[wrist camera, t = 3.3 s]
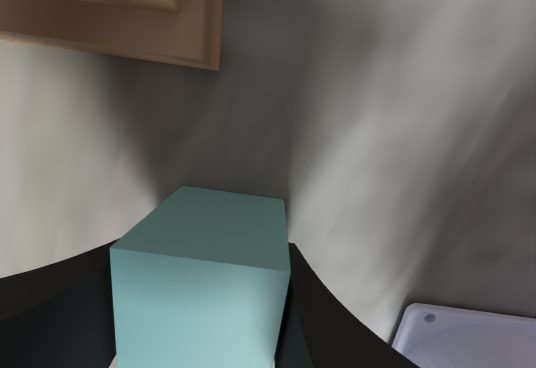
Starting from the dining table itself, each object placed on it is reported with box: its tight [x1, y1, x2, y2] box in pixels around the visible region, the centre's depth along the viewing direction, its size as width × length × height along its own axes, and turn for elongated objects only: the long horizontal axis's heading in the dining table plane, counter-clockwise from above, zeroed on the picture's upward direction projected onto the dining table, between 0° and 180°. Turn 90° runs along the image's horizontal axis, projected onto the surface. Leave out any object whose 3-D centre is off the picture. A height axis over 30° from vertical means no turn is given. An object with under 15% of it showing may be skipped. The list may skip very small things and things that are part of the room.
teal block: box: [110, 185, 291, 368], centre depth 9 cm, size 4×4×5 cm
